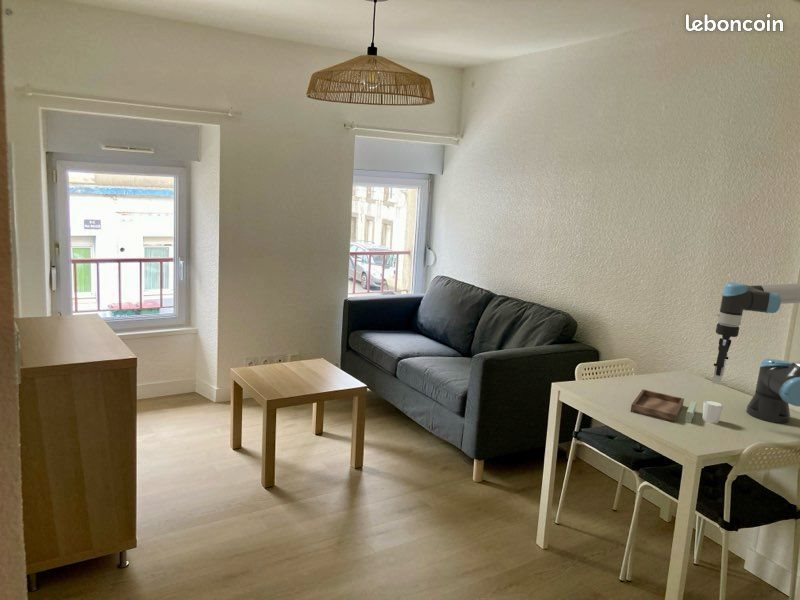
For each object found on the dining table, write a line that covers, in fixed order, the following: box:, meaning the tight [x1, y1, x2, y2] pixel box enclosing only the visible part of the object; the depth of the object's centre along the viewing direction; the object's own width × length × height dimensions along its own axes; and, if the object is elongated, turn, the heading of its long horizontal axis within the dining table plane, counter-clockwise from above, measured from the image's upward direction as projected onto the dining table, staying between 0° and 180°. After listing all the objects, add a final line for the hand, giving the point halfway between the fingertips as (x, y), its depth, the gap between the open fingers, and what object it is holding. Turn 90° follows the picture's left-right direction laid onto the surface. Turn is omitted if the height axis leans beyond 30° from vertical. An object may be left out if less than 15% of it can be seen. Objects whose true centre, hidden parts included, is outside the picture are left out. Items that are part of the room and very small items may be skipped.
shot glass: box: [701, 399, 724, 424], centre depth 244 cm, size 7×7×7 cm
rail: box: [684, 400, 698, 424], centre depth 247 cm, size 2×16×4 cm, turn 150°
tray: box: [630, 388, 685, 423], centre depth 253 cm, size 16×24×3 cm, turn 150°
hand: (717, 379), depth 242 cm, fingers open, 13 cm apart
